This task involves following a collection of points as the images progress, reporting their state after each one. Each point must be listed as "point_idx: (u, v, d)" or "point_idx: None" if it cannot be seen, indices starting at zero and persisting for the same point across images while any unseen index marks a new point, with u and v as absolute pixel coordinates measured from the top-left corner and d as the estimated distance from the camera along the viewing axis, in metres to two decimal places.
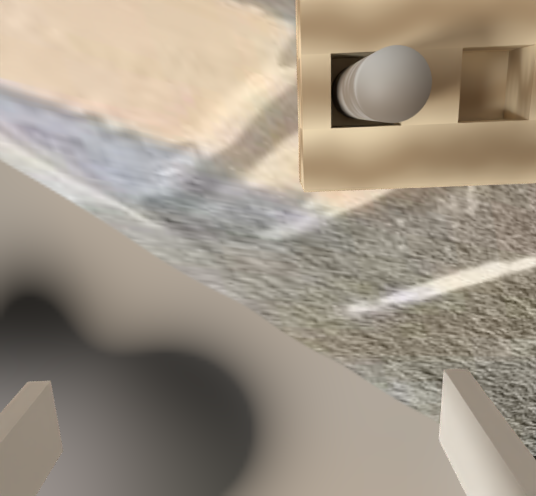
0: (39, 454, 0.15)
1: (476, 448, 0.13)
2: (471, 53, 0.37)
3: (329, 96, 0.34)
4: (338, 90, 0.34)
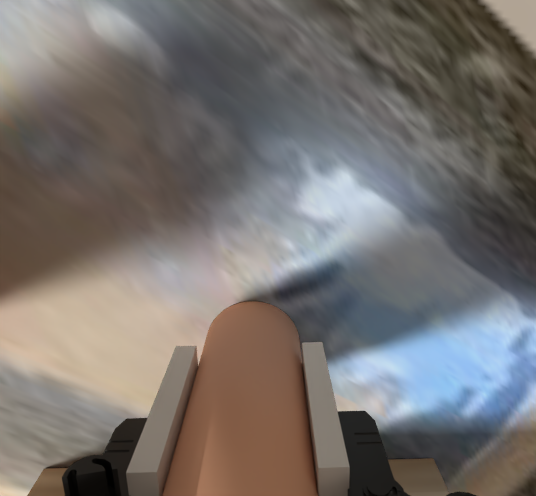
0: None
1: (307, 406, 0.16)
2: None
3: None
4: None
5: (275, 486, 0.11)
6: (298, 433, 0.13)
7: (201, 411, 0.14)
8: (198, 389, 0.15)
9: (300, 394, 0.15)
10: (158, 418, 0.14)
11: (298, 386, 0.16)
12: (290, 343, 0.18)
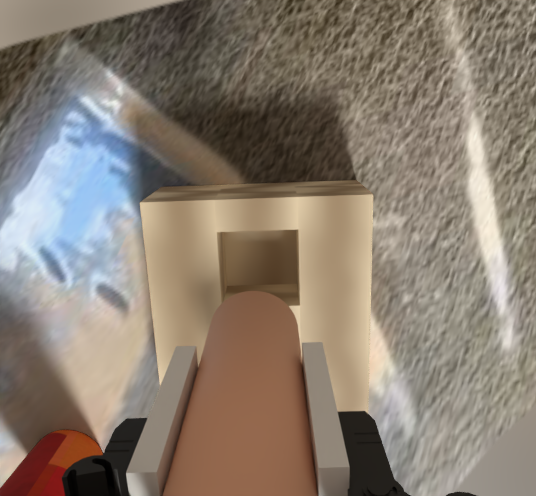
0: None
1: (307, 406, 0.16)
2: (226, 257, 0.34)
3: None
4: None
5: (274, 448, 0.12)
6: (295, 405, 0.14)
7: (207, 387, 0.15)
8: (204, 369, 0.16)
9: (298, 374, 0.17)
10: (158, 418, 0.14)
11: (296, 367, 0.17)
12: (289, 329, 0.19)
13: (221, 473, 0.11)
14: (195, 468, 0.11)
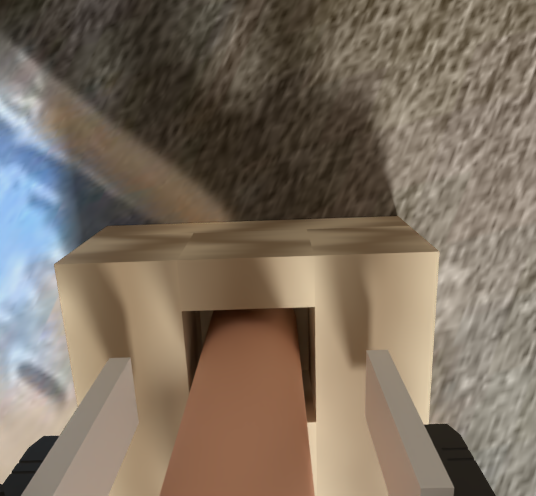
0: (124, 423, 0.16)
1: (383, 418, 0.15)
2: (202, 333, 0.23)
3: None
4: None
5: (271, 431, 0.13)
6: (291, 393, 0.15)
7: (208, 375, 0.15)
8: (204, 359, 0.17)
9: (295, 364, 0.17)
10: (69, 437, 0.13)
11: (293, 357, 0.18)
12: (287, 322, 0.20)
13: (220, 453, 0.12)
14: (196, 449, 0.12)
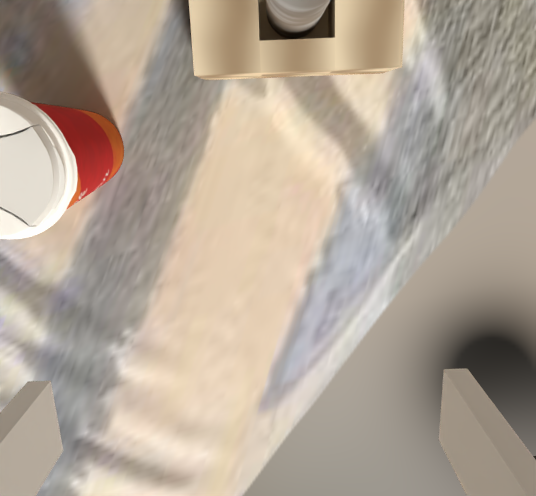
0: (39, 454, 0.15)
1: (476, 448, 0.13)
2: None
3: (302, 40, 0.32)
4: (296, 30, 0.32)
5: None
6: None
7: None
8: None
9: None
10: None
11: None
12: None
13: None
14: None
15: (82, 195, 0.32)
